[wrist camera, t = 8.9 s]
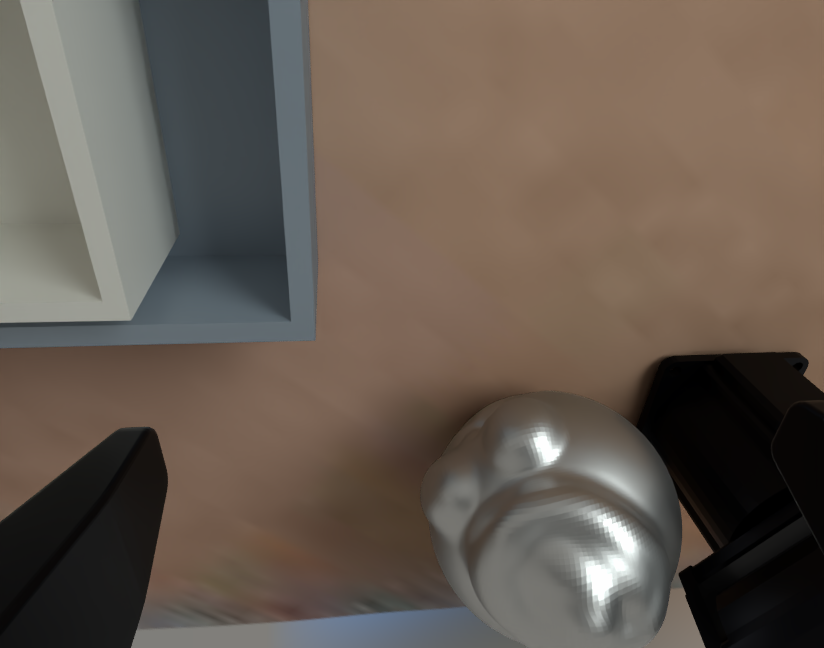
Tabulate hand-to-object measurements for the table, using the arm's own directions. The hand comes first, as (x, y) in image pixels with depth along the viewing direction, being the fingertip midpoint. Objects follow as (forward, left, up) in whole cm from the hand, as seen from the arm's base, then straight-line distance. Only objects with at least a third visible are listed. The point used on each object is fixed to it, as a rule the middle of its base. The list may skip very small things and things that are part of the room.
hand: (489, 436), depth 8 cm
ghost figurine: (-11, -5, -12) cm, 17 cm away
